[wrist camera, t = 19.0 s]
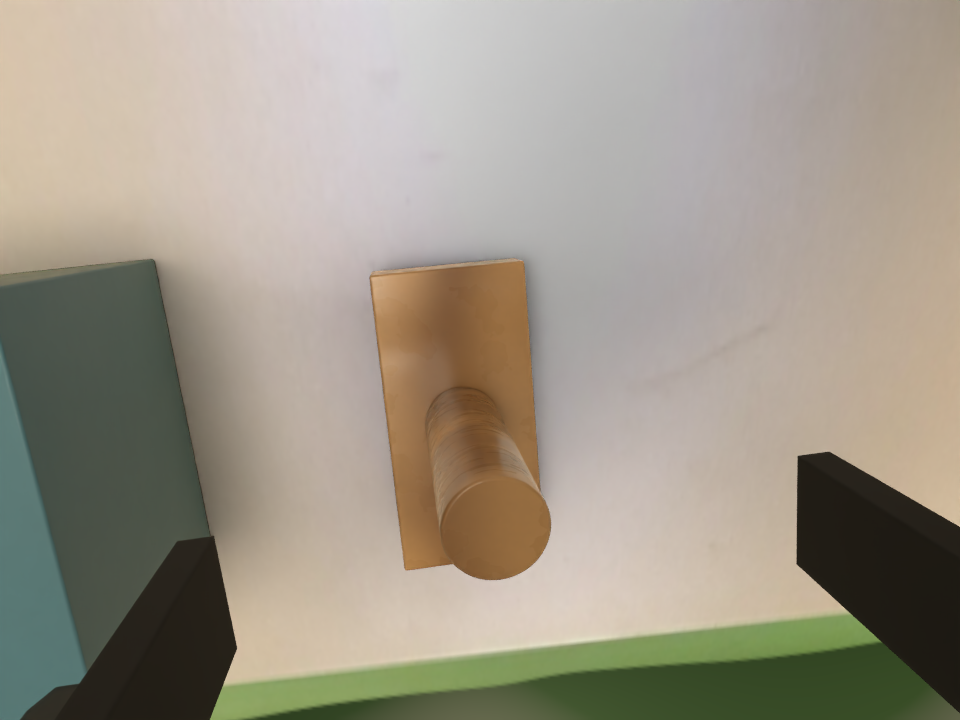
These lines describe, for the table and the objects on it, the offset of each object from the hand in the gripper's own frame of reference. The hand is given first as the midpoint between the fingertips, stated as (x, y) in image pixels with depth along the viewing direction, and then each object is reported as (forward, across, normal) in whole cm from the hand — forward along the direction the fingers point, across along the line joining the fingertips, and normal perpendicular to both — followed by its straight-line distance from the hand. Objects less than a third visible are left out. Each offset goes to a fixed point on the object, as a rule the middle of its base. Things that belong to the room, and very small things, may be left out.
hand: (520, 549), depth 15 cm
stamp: (+14, 0, 0) cm, 14 cm away
